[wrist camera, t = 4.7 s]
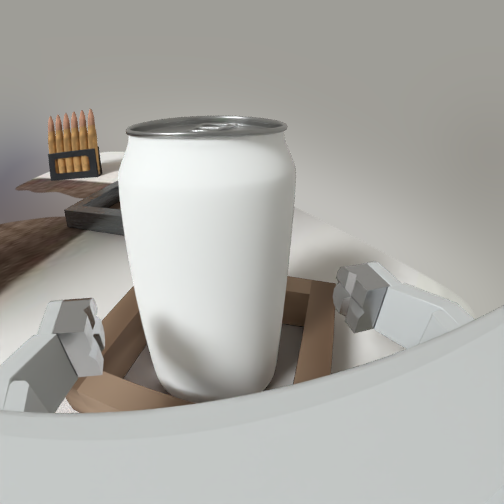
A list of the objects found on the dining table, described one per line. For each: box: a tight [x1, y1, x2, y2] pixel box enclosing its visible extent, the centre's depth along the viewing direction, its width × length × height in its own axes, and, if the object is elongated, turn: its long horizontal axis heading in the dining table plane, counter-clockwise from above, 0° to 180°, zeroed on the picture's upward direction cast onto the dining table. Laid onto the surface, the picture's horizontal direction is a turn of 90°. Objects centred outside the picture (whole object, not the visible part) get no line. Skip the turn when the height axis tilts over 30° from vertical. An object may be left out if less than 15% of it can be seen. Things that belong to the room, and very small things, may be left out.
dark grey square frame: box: [64, 181, 124, 235], centre depth 35 cm, size 14×14×2 cm
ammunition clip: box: [48, 109, 102, 181], centre depth 46 cm, size 11×2×12 cm, turn 91°
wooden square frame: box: [66, 276, 336, 413], centre depth 15 cm, size 12×12×2 cm
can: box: [118, 116, 296, 403], centre depth 13 cm, size 6×6×12 cm
